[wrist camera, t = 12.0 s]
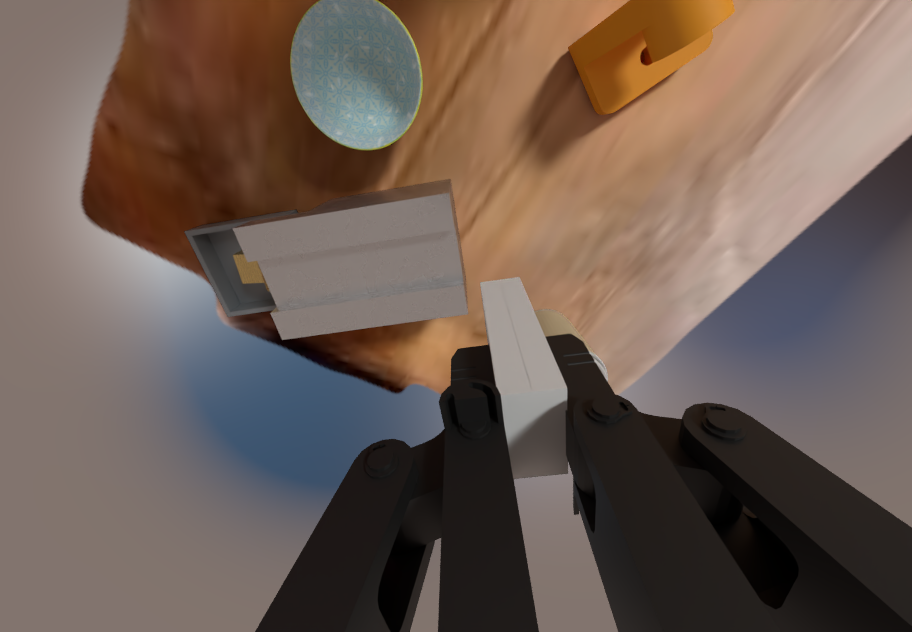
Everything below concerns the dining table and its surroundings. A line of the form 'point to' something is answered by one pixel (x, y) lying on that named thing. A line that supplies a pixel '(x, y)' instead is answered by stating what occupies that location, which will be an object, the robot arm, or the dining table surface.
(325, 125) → the bowl
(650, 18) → the bracket
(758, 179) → the dining table surface
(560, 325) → the coffee cup
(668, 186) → the dining table surface
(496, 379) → the robot arm
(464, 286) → the rail block
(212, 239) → the tray
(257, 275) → the chip
